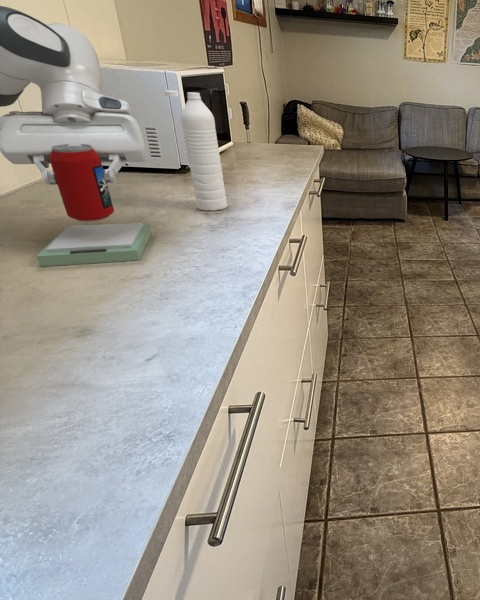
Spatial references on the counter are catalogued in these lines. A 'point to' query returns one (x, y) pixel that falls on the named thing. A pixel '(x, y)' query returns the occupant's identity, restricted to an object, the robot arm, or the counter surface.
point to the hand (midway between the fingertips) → (81, 181)
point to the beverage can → (81, 182)
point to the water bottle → (202, 153)
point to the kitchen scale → (96, 244)
